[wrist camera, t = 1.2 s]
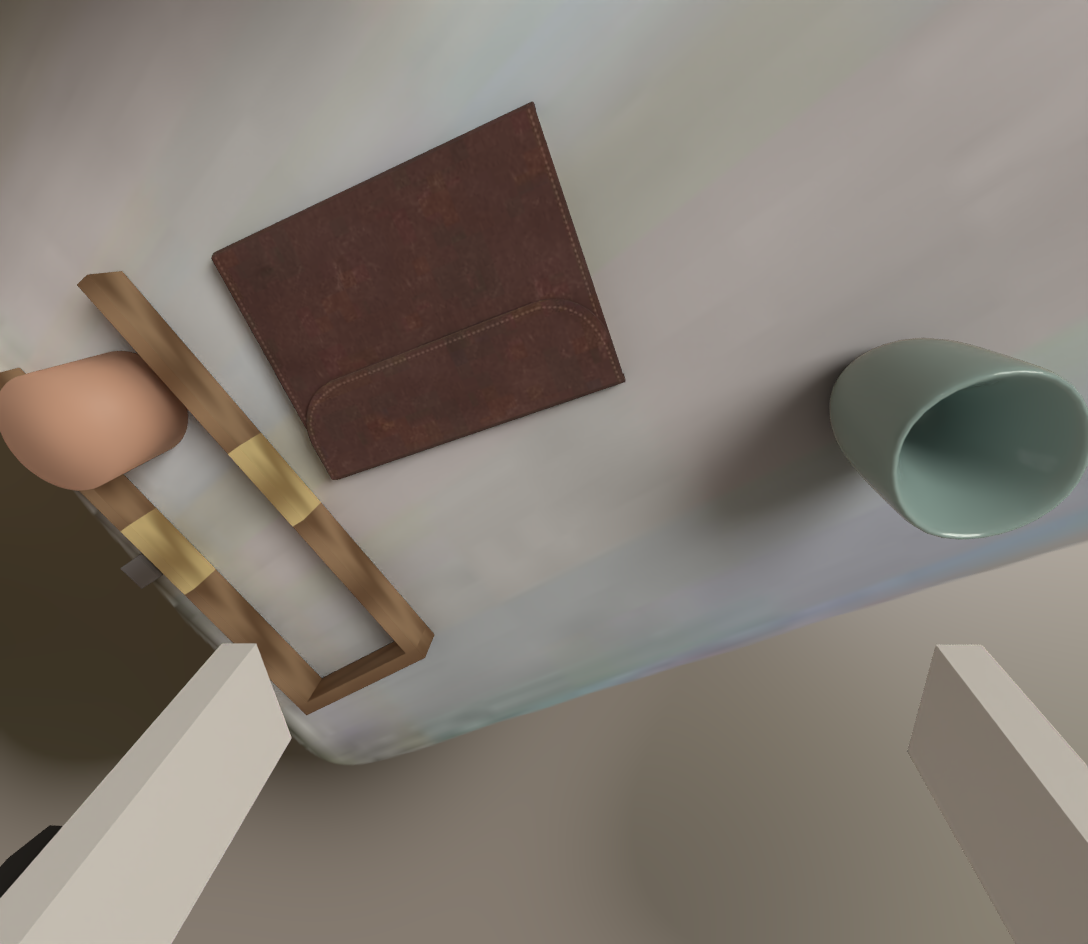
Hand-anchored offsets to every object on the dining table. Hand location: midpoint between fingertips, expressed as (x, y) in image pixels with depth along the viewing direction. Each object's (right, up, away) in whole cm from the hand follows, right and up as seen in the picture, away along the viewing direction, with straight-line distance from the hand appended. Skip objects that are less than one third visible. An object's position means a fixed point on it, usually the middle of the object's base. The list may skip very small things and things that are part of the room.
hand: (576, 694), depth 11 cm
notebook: (-8, +14, +23) cm, 28 cm away
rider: (-28, +9, +26) cm, 39 cm away
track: (-23, +1, +29) cm, 37 cm away
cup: (+19, +9, +21) cm, 30 cm away
